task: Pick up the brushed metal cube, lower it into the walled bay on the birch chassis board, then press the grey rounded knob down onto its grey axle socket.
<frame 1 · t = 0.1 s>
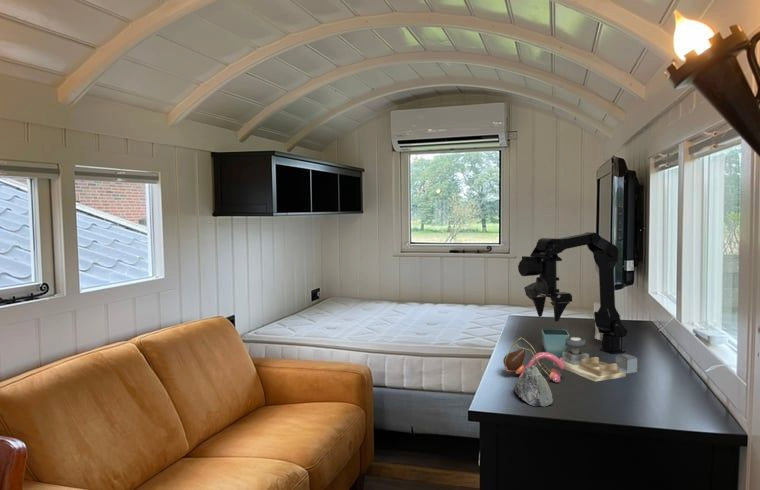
hand: (548, 318, 186), 15 cm above the table, tool pointing down, fingers open, 9 cm apart
brushed metal cube: (626, 370, 173), on the table
chassis board: (588, 370, 174), on the table
mineral rock: (532, 400, 150), on the table
flower pot: (555, 356, 192), on the table
anatomy model: (533, 379, 167), on the table
grey rounded knob: (575, 346, 180), point 7 cm above the table, slide at 2.5 cm
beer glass: (602, 339, 215), on the table
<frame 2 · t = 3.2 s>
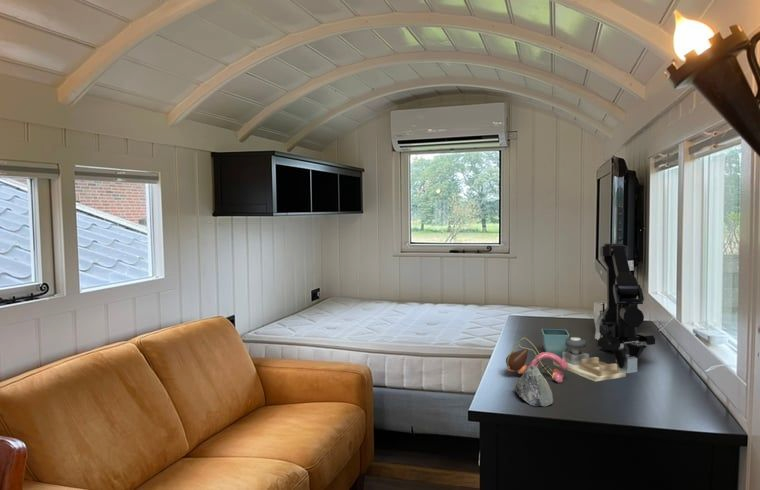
hand: (626, 367, 173), 1 cm above the table, tool pointing down, fingers closed on brushed metal cube, 4 cm apart
brushed metal cube: (626, 370, 173), on the table, touching gripper
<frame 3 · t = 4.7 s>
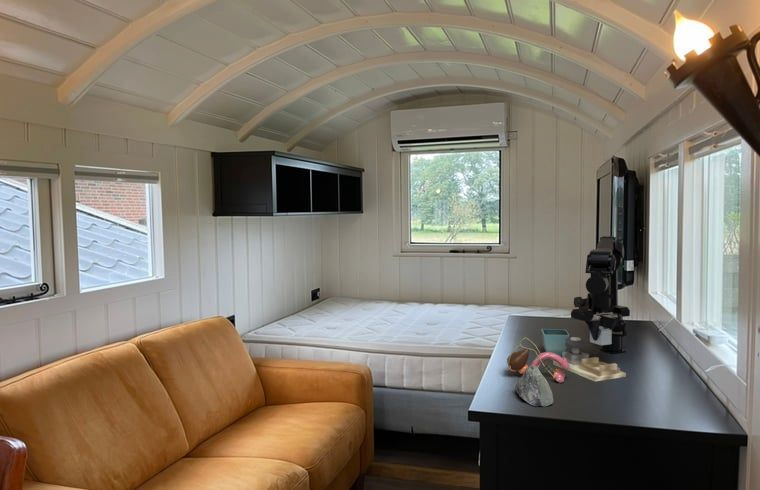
hand: (600, 339, 169), 11 cm above the table, tool pointing down, fingers closed on brushed metal cube, 4 cm apart
brushed metal cube: (600, 343, 169), point 10 cm above the table, touching gripper
when the fingers open (3 cm above the table, at t = 6.2 s): brushed metal cube drops 1 cm, resting on chassis board.
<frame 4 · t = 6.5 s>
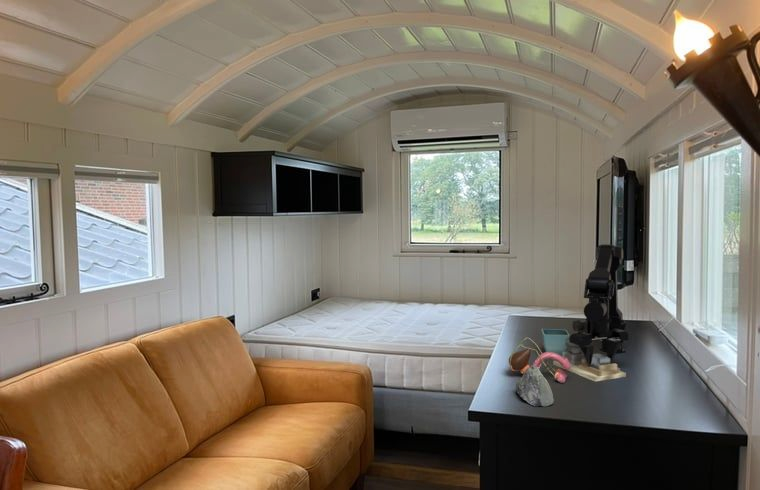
hand: (599, 363, 170), 3 cm above the table, tool pointing down, fingers open, 8 cm apart
brushed metal cube: (599, 370, 170), point 1 cm above the table, touching chassis board
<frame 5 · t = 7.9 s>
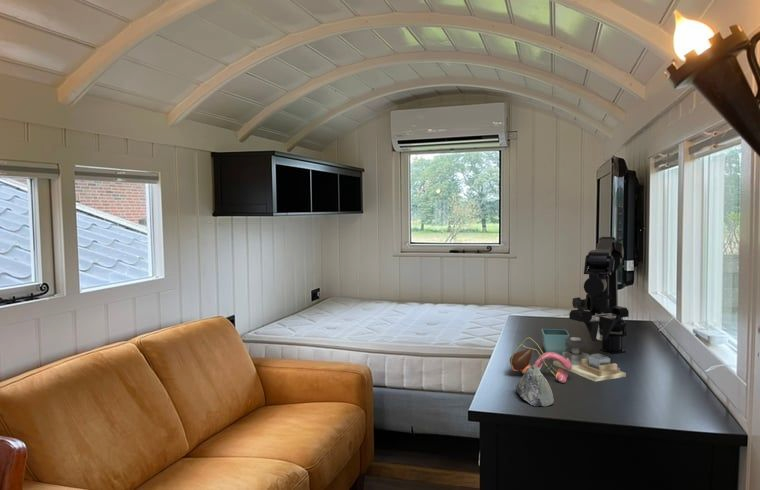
hand: (599, 340, 169), 11 cm above the table, tool pointing down, fingers open, 4 cm apart
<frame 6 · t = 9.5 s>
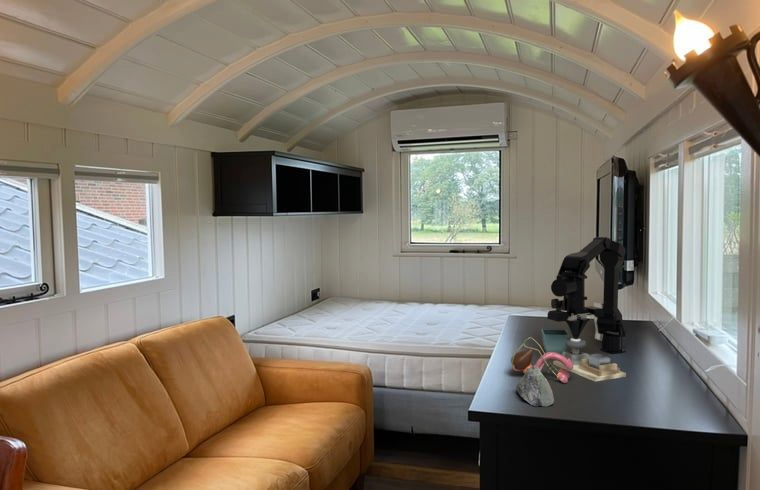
hand: (575, 339, 180), 9 cm above the table, tool pointing down, fingers closed, pressing on grey rounded knob
grey rounded knob: (575, 347, 180), point 6 cm above the table, slide at 2.2 cm, touching gripper
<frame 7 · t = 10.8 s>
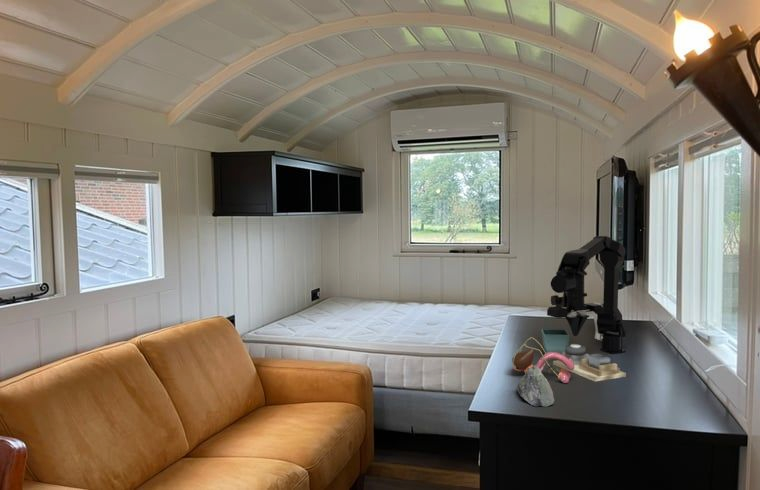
hand: (575, 335, 179), 10 cm above the table, tool pointing down, fingers closed
grey rounded knob: (575, 353, 180), point 4 cm above the table, slide at 0.1 cm
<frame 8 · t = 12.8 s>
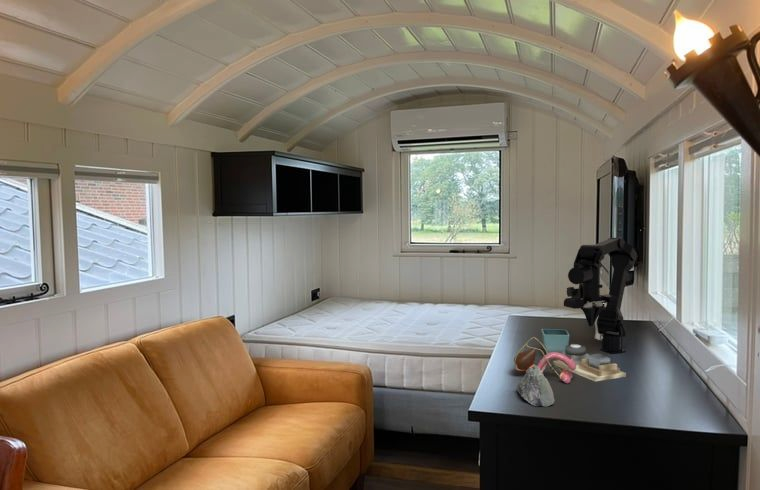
hand: (590, 326, 185), 12 cm above the table, tool pointing down, fingers closed
at the end: brushed metal cube 0.1 cm from the target spot, point 1.2 cm above the table; brushed metal cube tilted 0°; grey rounded knob slide at 0.1 cm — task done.
